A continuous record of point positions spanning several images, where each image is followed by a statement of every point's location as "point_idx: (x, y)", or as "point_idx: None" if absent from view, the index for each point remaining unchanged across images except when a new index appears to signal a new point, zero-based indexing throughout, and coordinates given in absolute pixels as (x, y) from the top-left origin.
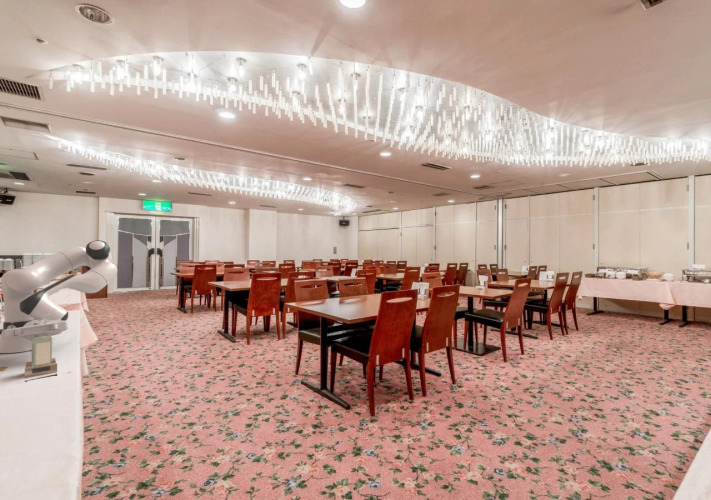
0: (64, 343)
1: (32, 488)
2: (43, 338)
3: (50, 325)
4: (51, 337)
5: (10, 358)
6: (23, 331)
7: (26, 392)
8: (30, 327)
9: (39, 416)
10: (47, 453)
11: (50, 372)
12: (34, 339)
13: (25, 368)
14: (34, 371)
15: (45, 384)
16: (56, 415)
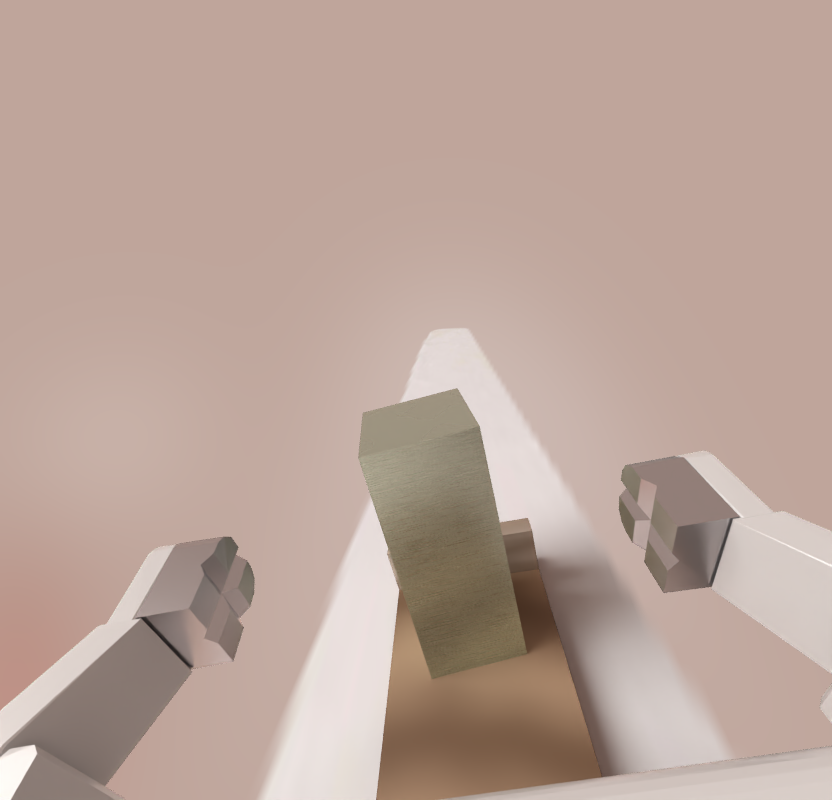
0: None
1: (452, 330)
2: (408, 402)
3: (222, 553)
4: (365, 412)
5: None
6: (625, 493)
7: (495, 459)
8: (633, 791)
9: (454, 382)
10: (443, 345)
11: None
12: (457, 394)
13: (527, 526)
14: None
15: None
16: (432, 382)
